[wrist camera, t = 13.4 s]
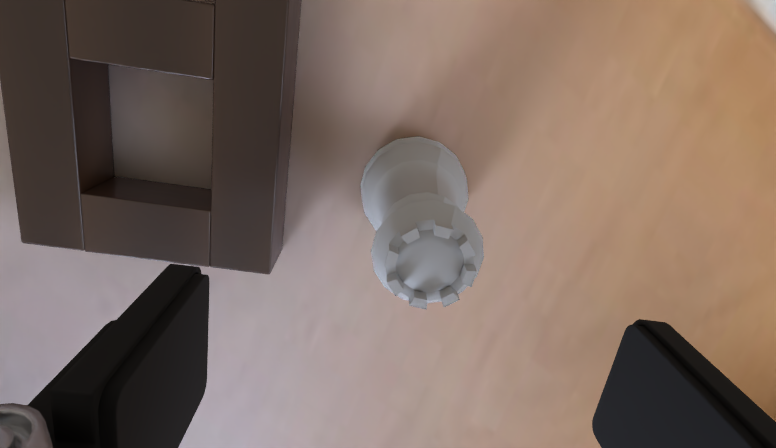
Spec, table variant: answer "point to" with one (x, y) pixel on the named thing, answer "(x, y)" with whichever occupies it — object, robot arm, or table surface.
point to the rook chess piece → (421, 222)
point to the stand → (94, 136)
